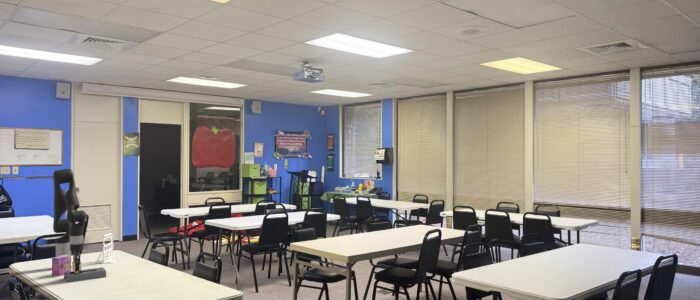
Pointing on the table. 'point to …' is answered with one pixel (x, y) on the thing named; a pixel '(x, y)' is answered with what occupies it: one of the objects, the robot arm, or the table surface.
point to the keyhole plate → (85, 274)
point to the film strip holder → (108, 260)
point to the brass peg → (74, 267)
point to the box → (61, 265)
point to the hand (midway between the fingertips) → (76, 270)
